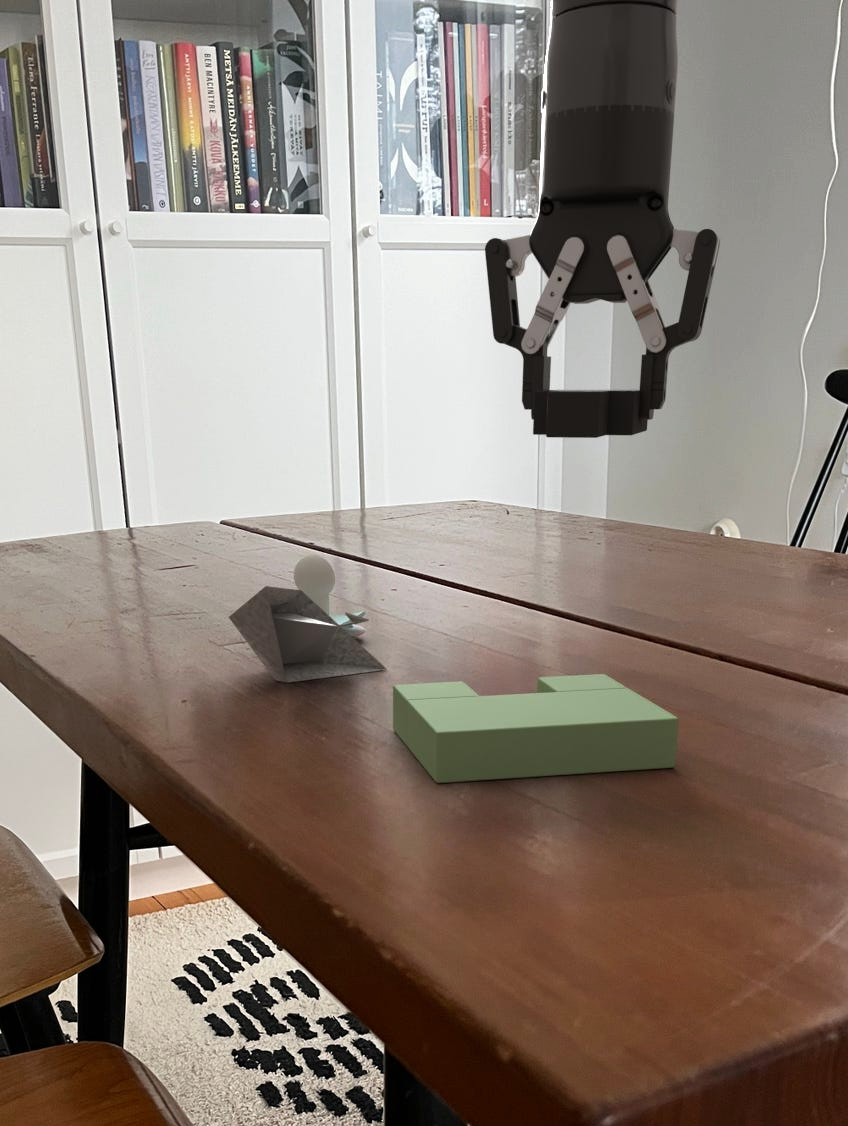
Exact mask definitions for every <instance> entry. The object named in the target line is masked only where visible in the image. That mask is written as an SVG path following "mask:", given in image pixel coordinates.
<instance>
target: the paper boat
mask: <svg viewBox="0 0 848 1126" xmlns="http://www.w3.org/2000/svg"><path fill="white" fill-rule="evenodd" d="M352 614H353V613H349V612H345V613H344V615H346V616H347V617H348V618H349V619H350V620H351V621H352V622H351V623H347V624H342V625H339V624H337V623H336V622H335V621H334V620H333V619H332V618H331V617H330V616H331V615H330V614H329V615H328V614H327V613H325V612H324V611H323V610H322V609H321V608H320V607H319V606H318V605H317V604H316V603H315V602H313V601H312V600H311V599H310V598H309V597H308V596H307V595H306V594H305V593H304V592H303V591H301V590H298V589H295V588H284V587H278V586H270V585H265V586H264V587H263V588H262V589H260V590H259V591H258V592H257V593H256V594H254V595H253V596H252V597H251V598H250V599H248V600H247V601H246V602H245V603H244V604H243V605H241V606H240V607H238V609H237V610H235V611H234V612H233V613H232V614H230V615H229V616H228V619H229V620H230V622H231V623H232V625H233V626H234V627H235V629H236V630H237V631H238V632H239V634H240V635H241V636H242V637H243V639H244V640H245V642H246V643H247V644H248V646H249V647H250V649H251V650H252V651H253V652H254V654H255V655H256V657H257V658H258V659H259V660H260V662H261V663H262V665H263V666H264V667H265V668H266V670H267V671H268V673H269V674H270V675H271V677H272V678H273V680H274V681H276V682H281V683H286V684H287V683H293V682H301V681H302V682H303V681H309V680H317V679H325V678H332V677H340V676H348V675H356V674H362V673H363V674H364V673H373V672H378V671H380V672H381V671H387V670H388V668H387V667H386V666H385V665H383V664H382V663H381V662H380V661H379V660H378V659H377V658H376V657H375V656H374V655H372V654H371V653H370V652H369V651H368V650H367V649H366V648H365V647H364V646H363V645H362V644H361V643H359V641H357V640H356V639H355V638H354V637H352V636H351V635H349V634H348V633H347V632H346V631H345V630H344V629H343V628H342V627H343V626H347V625H352V624H354V625H359V624H361V623H366V622H369V621H370V620H369V618H365V617H359V616H356V615H352Z"/></svg>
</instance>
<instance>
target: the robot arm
mask: <svg viewBox="0 0 848 1126" xmlns="http://www.w3.org/2000/svg"><path fill="white" fill-rule="evenodd" d="M678 1H679V0H551V1H550V7H551V8H550V24H549V25H550V26H549V35H548V41H547V49H546V55H545V62H544V70H543V71H544V74H543V88H542V90H541V96H540V97H541V100H540V110H541V111H540V112H541V113H542V118H541V147H540V168H539V169H540V171H539V173H540V174H539V196H538V197H539V199H538V202H539V203H538V214H537V218H536V221H535V223H534V225H533V227H532V229H531V231H530V233H529V234H527V235H523V236H517V237H513V238H512V237H511V238H508V239H507V238H506V239H502V238H498V237H492V238H490V239H489V240H488V241H487V242H486V244H485V246H484V255H485V264H486V265H485V266H486V273H487V274H486V275H487V283H488V286H487V287H488V294H489V295H488V296H489V307H490V316H491V326H492V327H491V328H492V335H493V336H492V337H493V338H494V341H496V342H497V343H498V344H503V345H505V346H507V347H511V348H513V349H515V350H517V351H518V352H519V353H520V354H521V356H522V384H521V385H522V387H521V402H522V406H523V409H524V411H527V410H528V411H530V417H531V420H532V421H533V419H534V393H535V391H544V390H551V370H552V368H551V367H552V356H548V348H549V347H550V344H551V342H552V340H553V338H554V336H555V334H556V331H557V329H558V327H559V325H560V324H561V322H562V321H563V320H564V318H565V316H566V314H567V312H568V310H569V308H570V306H571V304H574V305H585V304H588V305H589V304H591V303H594V302H597V301H605V302H609V303H611V304H626V303H627V304H628V306H629V309H630V311H631V314H632V316H633V318H634V319H635V322H636V324H637V327H638V329H639V332H640V335H641V337H642V339H643V342H644V345H645V354H641V363H640V376H639V377H640V378H639V389H640V403H639V420H648V421H649V420H650V421H651V420H653V418H654V413H655V410H662V408H663V407H664V404H665V403H666V398H667V383H668V369H669V357H670V355H671V353H672V351H673V350H674V349H676V348H677V347H680V346H683V345H686V344H688V343H690V342H695V341H697V340H698V339H699V338H700V336H701V334H702V330H703V327H704V321H705V317H706V312H707V307H708V303H709V302H708V301H709V298H710V294H711V293H710V292H711V288H712V283H713V278H714V274H715V270H716V264H717V260H718V255H719V250H720V246H721V240H720V238H719V236H718V235H717V233H716V232H715V231H714V230H713V229H711V228H704V229H701V230H700V231H696V230H695V231H694V230H687V229H677V228H675V227H674V225H673V223H672V221H671V218H670V214H669V196H670V195H669V194H670V182H671V168H672V155H673V153H672V152H673V141H674V139H673V138H674V123H675V110H676V109H675V107H676V94H677V81H678V66H679V65H678V63H679V57H678V56H679V55H678V39H677V36H678V35H677V14H678V4H679V3H678ZM672 248H673V249H675V250H676V251H677V254H678V264H679V266H680V267H681V269H683V271H686V272H688V273H687V279H686V283H685V284H686V285H685V288H684V294H683V297H682V303H681V306H680V307H681V308H680V312H679V313H680V314H679V318H678V322H676V323H673V324H669V325H668V326H666V324H665V322H664V320H663V316H662V314H661V312H660V311H661V310H660V307H659V304H658V301H657V298H656V296H655V294H654V291H653V289H652V286H651V284H650V279H651V277H652V276H653V274H654V273H655V272H656V270H657V269H658V267H659V266H660V264H661V263H662V262H663V261H664V259H665V258H666V256H667V255H668V253H669V252H670V251H671V249H672ZM531 254H532V255H533V256H534V258H535V260H536V261H537V263H538V265H539V266H540V268H541V269H542V271H543V273H544V274H545V276H546V277H547V279H548V281H547V283H546V284H545V286H544V288H543V291H542V293H541V295H540V297H539V299H538V300H537V303H536V306H535V309H534V314H533V316H532V317H531V320H530V322H529V324H528V326H527V328H526V327H523V326H521V322H520V321H521V320H520V311H519V310H520V309H519V301H518V288H517V279H516V278H517V277H519V276H521V275H522V274H523V272H524V270H525V268H526V260H527V259H528V257H529V256H530V255H531Z"/></svg>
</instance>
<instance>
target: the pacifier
mask: <svg viewBox="0 0 848 1126" xmlns="http://www.w3.org/2000/svg"><path fill="white" fill-rule="evenodd" d="M293 580H294V584H295V586H296V588H297V590H301V591H303V592H304V593H305V594H306V595H307V596H308V597H309V598H310V599H311V600H312V601H313V602H315V603H316V604H317V605H318V606H319V607H320V608H321V609H322V610H323V611H324V612H325V613H327V614H328V615H329V616H330V617H331V618H332V619H333V620H334V621H335V622H336V623H337V624H339V625H342V624H347V623H351V622H352V621H351V620H350V619H349V618H348V617H347V616H346V615H345V614H341V615H330V594H331V592H332V591H333V590H334V587H335V584H336V576H335V570H334V569H333V566H332V565H331V564H330V563H329V562H328V560H327V559H325V558H324V557H323V556H321V555H318V554H307V555H304V556H302V557H301V558H300V559H299V560H298V561H297V562H296V565H295V567H294V570H293ZM351 614H352V615H356V616H359V617H362V618H364V616H365V615H366V610H362V611H358V612H355V613H351ZM342 628H343V629H344V630H345V631H346V632H347V633H348V634H349V635H351V636H352V637H353V638H354V637H358V636H359V637H360V636H362V635H364V634H365V633H366V628H364V627H363V626H362V625H359V624H355V625H354V624H352V625H347V626H343V627H342Z"/></svg>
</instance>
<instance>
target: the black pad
mask: <svg viewBox="0 0 848 1126" xmlns="http://www.w3.org/2000/svg"><path fill="white" fill-rule="evenodd" d="M639 403H640V388H639V389H637V388H636V389H550V390H544V391H535V393H534V419H533V420H532V422H533V424H532V435H535V436H536V435H537V436H545V437H546V438H559V439H560V438H563V439H565V438H566V439H567V438H568V439H570V438H571V439H573V438H574V439H575V438H577V439H581V438H582V439H583V438H584V439H585V438H586V439H587V438H588V439H597V438H601V437H605V436H633V435H634V436H635V435H638V434H641V433H645V432H647V431H648V421H649V420H639Z"/></svg>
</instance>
